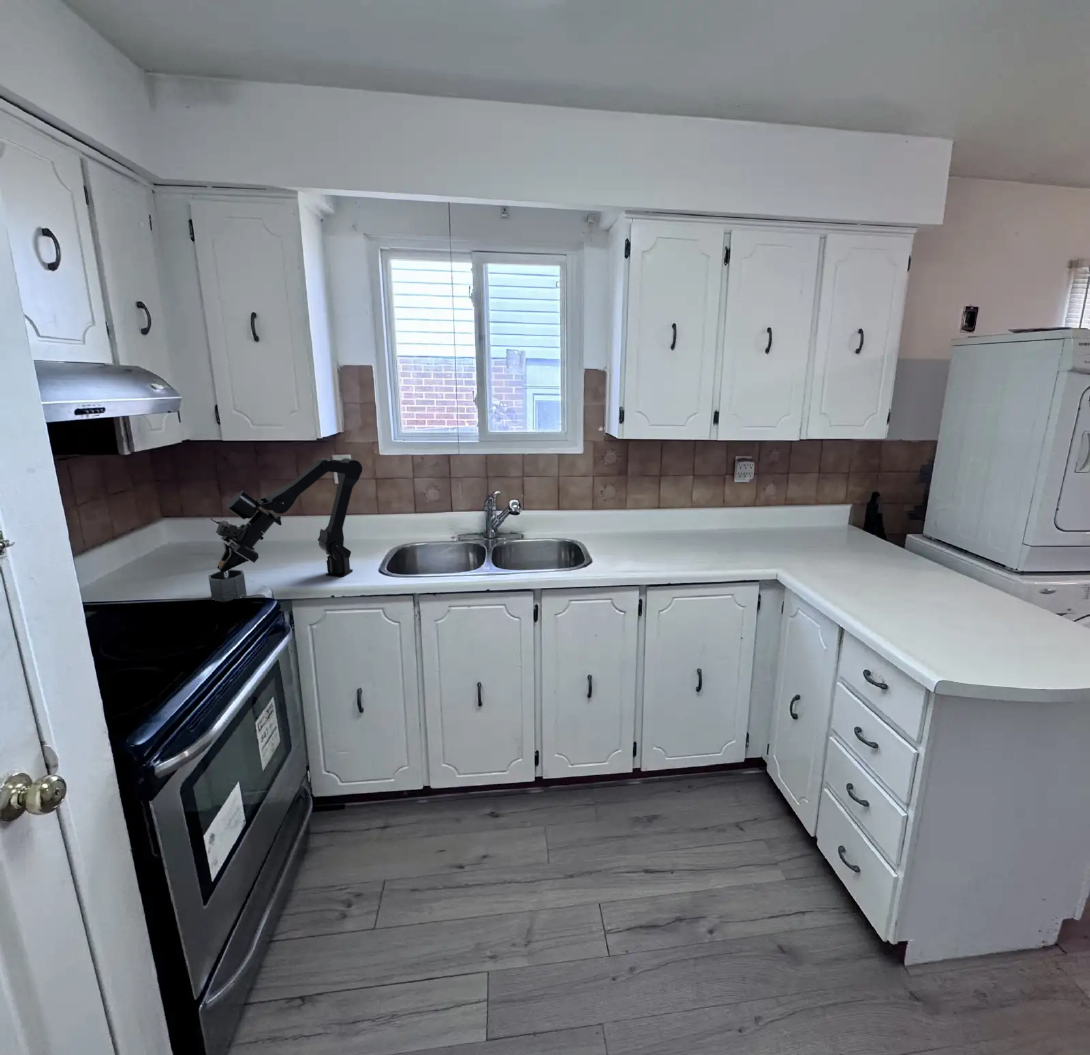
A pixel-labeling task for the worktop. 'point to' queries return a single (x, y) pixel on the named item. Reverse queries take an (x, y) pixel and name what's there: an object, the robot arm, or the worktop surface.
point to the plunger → (221, 567)
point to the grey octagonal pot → (227, 586)
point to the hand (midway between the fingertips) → (219, 570)
